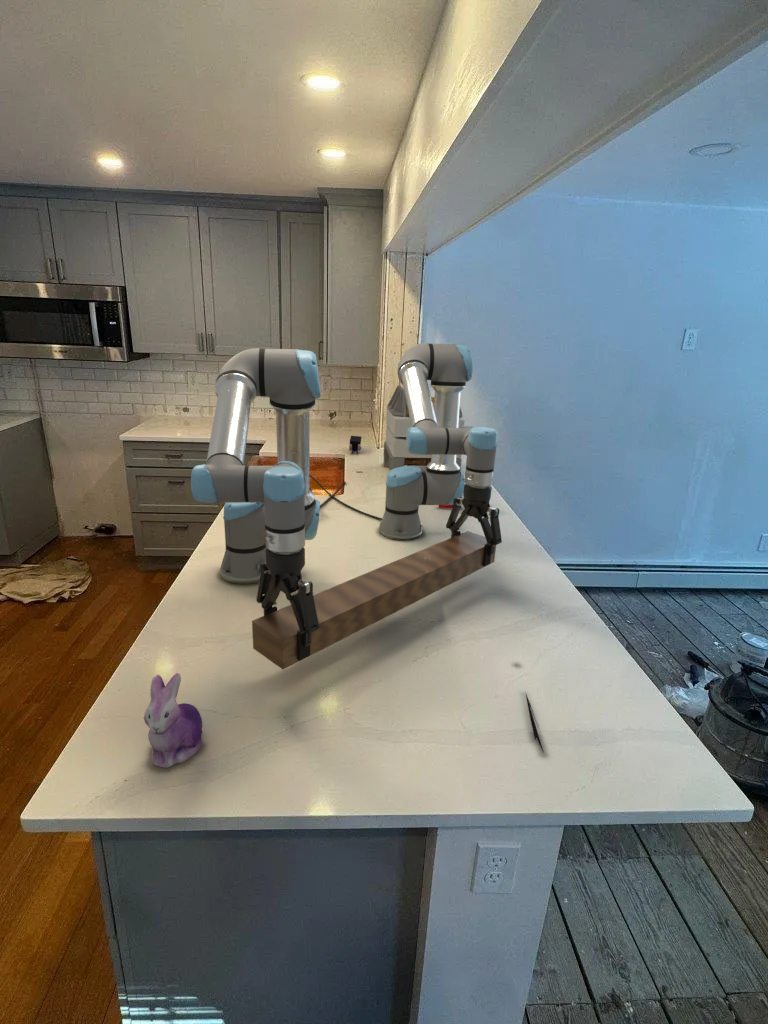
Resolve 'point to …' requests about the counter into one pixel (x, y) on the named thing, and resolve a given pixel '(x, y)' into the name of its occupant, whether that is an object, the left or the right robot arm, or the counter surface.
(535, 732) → the feather
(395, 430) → the grey slatted crate
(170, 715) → the figurine
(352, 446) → the figurine character
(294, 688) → the counter surface
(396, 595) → the wide beam
